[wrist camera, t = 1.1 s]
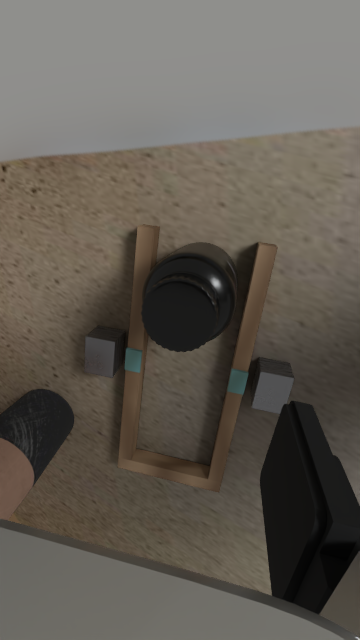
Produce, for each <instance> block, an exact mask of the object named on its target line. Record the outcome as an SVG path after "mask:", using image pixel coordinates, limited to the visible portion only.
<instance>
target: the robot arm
mask: <svg viewBox="0 0 360 640" xmlns="http://www.w3.org/2000/svg"><path fill="white" fill-rule="evenodd" d="M260 487H261V496H262V506H263V515H264V524H265V534H266V543H267V552H268V562H269V571H270V580H271V590H272V596H270V595H268V594H265V593H262V592H259V591H256V590H253V589H250V588H246V587H243V586H240V585H236V584H233V583H229V582H226V581H223V580H219V579H216V578H213V577H209V576H206V575H203V574H199V573H196V572H192V571H189V570H186V569H182V568H179V567H175V566H171V565H168V564H164V563H161V562H157V561H153V560H150V559H146V558H143V557H139V556H135V555H132V554H128V553H125V552H121V551H117V550H114V549H110V548H107V547H103V546H99V545H96V544H92V543H88V542H85V541H81V540H78V539H74V538H70V537H67V536H63V535H59V534H56V533H52V532H48V531H45V530H41V529H37V528H33V527H30V526H26V525H22V524H19V523H15V522H11V521H8V520H4V519H0V640H360V506H359V504H358V501H357V499H356V497H355V494H354V492H353V490H352V487H351V485H350V483H349V480H348V478H347V476H346V473H345V471H344V469H343V466H342V464H341V462H340V460H339V459H338V457H336V456H334V455H333V454H332V452H331V450H330V447H329V445H328V442H327V440H326V437H325V435H324V433H323V430H322V428H321V425H320V423H319V420H318V418H317V416H316V413H315V411H314V408H313V406H312V405H310V404H306V403H301V402H297V401H291V402H290V404H289V405H288V404H284V405H283V407H282V409H281V413H280V416H279V419H278V422H277V425H276V428H275V431H274V434H273V437H272V440H271V443H270V446H269V449H268V452H267V455H266V458H265V461H264V464H263V468H262V471H261V476H260Z"/></svg>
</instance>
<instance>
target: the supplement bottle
mask: <svg viewBox="0 0 360 640" xmlns="http://www.w3.org/2000/svg"><path fill="white" fill-rule="evenodd" d="M237 283H238V278H237V271H236V267H235V265H234V263H233V261H232V259H231V258H230V256H229V255H228V254H227V253H226V252H225V251H224V250H223V249H221V248H219V247H218V246H216V245H213V244H210V243H203V242H198V243H192V244H189V245H186V246H184V247H182V248H180V249H179V250H177V251H175V252H174V253H172V254H170V255H169V256H167V257H165V258H164V259H162V260H161V261H160V262H158V263H157V264H156V265H155V266H154V267H153V268H152V270H151V271H150V272H149V274H148V276H147V278H146V280H145V283H144V286H143V291H142V303H143V304H142V311H141V315H142V322H143V323H144V328H145V329H146V331H147V334H148V335H149V336H150V337H151V339H152V340H154V341H155V342H156V343H157V344H158V345H161V346H162V347H163V348H167V349H169V350H170V351H173V350H174V351H176V352H180V351H182V352H186V351H192V350H194V349H197V348H199V347H200V346H201V345H204V344H205V343H206V342H208V341H210V340H212V339H214V338H216V337H217V336H219V335H220V334H221V333H222V332H223V331H224V330H225V329H226V328H227V326H228V325H229V323H230V322H231V320H232V318H233V315H234V312H235V308H236V301H237Z"/></svg>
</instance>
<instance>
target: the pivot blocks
mask: <svg viewBox="0 0 360 640" xmlns="http://www.w3.org/2000/svg"><path fill="white" fill-rule="evenodd" d="M124 340H125V331H123V330H118V329H113V328H108V327H103V326H97V327H96V328H95V329H94V330H92V331H91V332H90V333H89V334H88V335H87V336H86V339H85V372H87V373H92V374H96V375H101V376H106V377H110V378H113V377H114V375H115V374H116V373H117V371H118V370H119V369H120V367H121V366H122V364H123V353H124ZM293 381H294V376H293V373H292V369H291V366H290V363H286V362H281V361H276V360H270V359H265V358H260V357H259V360H258V364H257V368H256V372H255V376H254V380H253V384H252V388H251V405H252V408H254V409H259V410H263V411H268V412H273V413H277V414H280V413H281V409H282V407H283V405H284V404H287V401H288V398H289V395H290V391H291V388H292V385H293Z"/></svg>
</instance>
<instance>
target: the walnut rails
mask: <svg viewBox="0 0 360 640" xmlns="http://www.w3.org/2000/svg"><path fill="white" fill-rule="evenodd" d="M159 230H160V227H158V226H151V225H145V224H144V225H139V226H138V228H137V240H136V252H135V264H134V276H133V288H132V300H131V313H130V325H129V337H128V347H127V348H126V356H125V369H124V370H126V373H125V385H124V397H123V409H122V421H121V433H120V445H119V457H118V468H122V469H126V470H130V471H134V472H138V473H142V474H146V475H150V476H154V477H158V478H162V479H166V480H170V481H174V482H178V483H183V484H187V485H191V486H195V487H199V488H203V489H207V490H211V491H215V492H219V491H220V486H221V482H222V478H223V474H224V470H225V466H226V461H227V457H228V453H229V449H230V445H231V440H232V436H233V432H234V428H235V424H236V420H237V415H238V411H239V407H240V403H241V399H242V395H243V394H244V390H245V386H246V382H247V378H248V374H249V373H248V369H249V365H250V361H251V357H252V353H253V348H254V344H255V340H256V336H257V332H258V328H259V323H260V319H261V315H262V311H263V307H264V302H265V298H266V294H267V290H268V286H269V282H270V277H271V273H272V269H273V265H274V261H275V256H276V252H277V248H278V247H277V246H276V245H274V244H267V243H261V242H258V245H257V249H256V254H255V259H254V263H253V268H252V272H251V277H250V282H249V286H248V291H247V296H246V300H245V305H244V309H243V314H242V319H241V323H240V328H239V333H238V337H237V342H236V346H235V351H234V356H233V360H232V365H231V370H230V374H229V379H228V383H227V388H226V393H225V397H224V402H223V407H222V411H221V416H220V420H219V425H218V430H217V434H216V439H215V444H214V448H213V453H212V457H211V462H210V466H208V465H204V464H199V463H195V462H191V461H187V460H183V459H179V458H174V457H170V456H166V455H162V454H158V453H154V452H149V451H145V450H141V449H137V448H136V444H137V435H138V426H139V416H140V407H141V398H142V388H143V379H144V370H145V360H146V351H147V342H148V334H147V331H146V329H145V328H144V323H143V322H142V315H141V311H142V304H143V303H142V291H143V286H144V283H145V280H146V278H147V276H148V274H149V272H150V271H151V270H152V268H153V267H154V266H155V265H156V258H157V248H158V239H159Z"/></svg>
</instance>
